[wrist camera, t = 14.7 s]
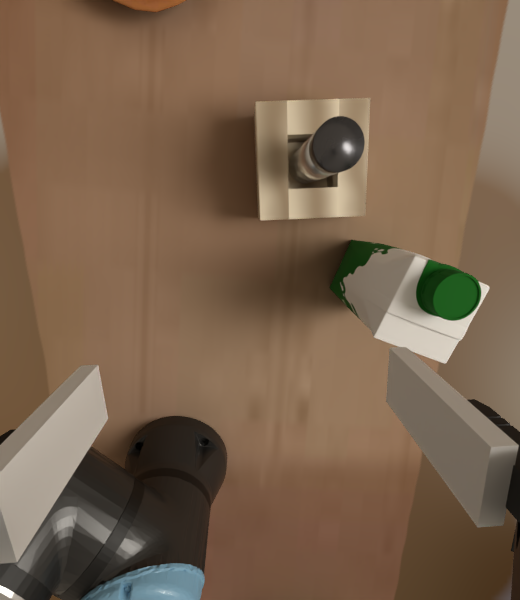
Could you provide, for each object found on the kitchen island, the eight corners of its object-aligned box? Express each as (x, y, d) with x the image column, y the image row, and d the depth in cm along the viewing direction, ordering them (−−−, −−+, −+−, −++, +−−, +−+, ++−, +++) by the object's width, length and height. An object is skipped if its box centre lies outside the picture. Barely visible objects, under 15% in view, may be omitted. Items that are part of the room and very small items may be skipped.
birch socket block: (258, 218, 44) (260, 220, 39) (254, 116, 41) (255, 101, 35) (349, 214, 45) (365, 215, 39) (352, 112, 42) (370, 97, 36)
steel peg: (289, 184, 42) (313, 173, 27) (288, 149, 41) (313, 117, 26) (321, 182, 43) (363, 170, 27) (321, 148, 41) (365, 115, 26)
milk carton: (405, 254, 47) (518, 289, 27) (375, 313, 49) (461, 384, 29) (347, 230, 45) (424, 249, 26) (320, 292, 47) (371, 352, 28)
